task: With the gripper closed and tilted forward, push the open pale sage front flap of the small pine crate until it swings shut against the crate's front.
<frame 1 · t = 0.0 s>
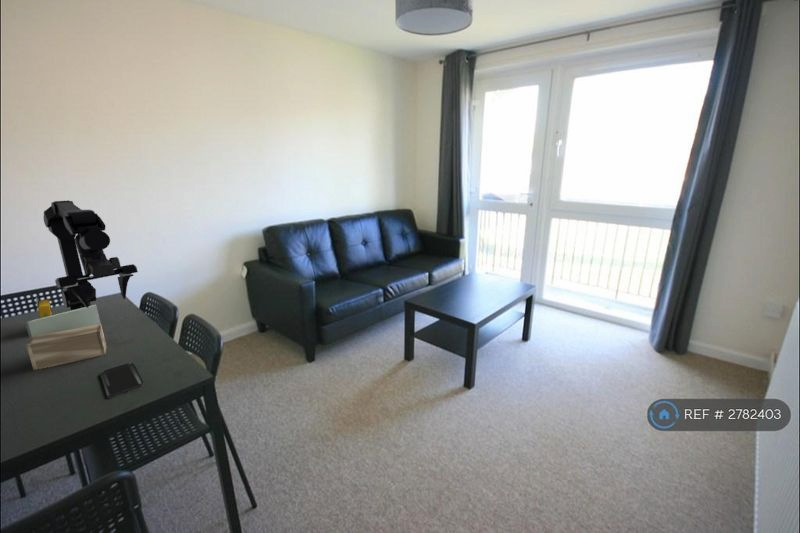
hand: (106, 302, 112), 15 cm above the table, tool pointing down, fingers open, 9 cm apart
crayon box: (50, 329, 127), on the table
flap: (67, 331, 113), point 6 cm above the table, hinge at 20.0°
phone: (121, 382, 100), on the table
crate: (72, 357, 110), on the table
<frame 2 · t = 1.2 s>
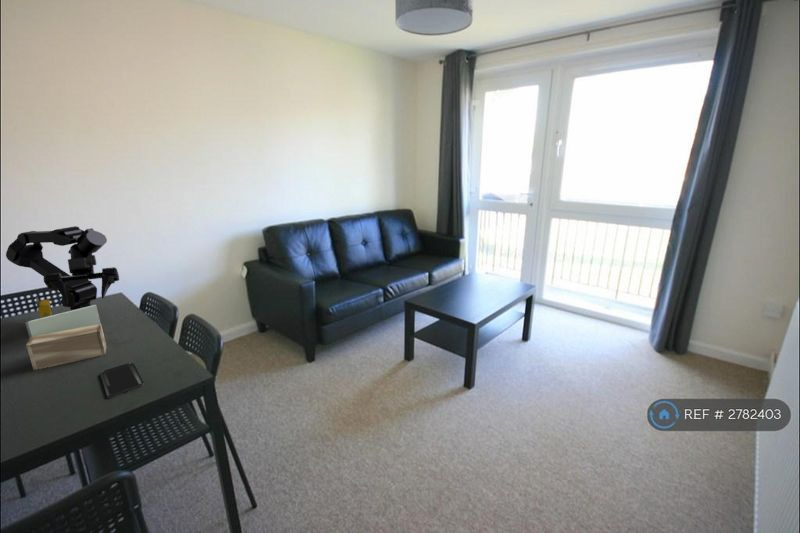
hand: (85, 300, 121), 12 cm above the table, tool tilted 45°, fingers open, 9 cm apart
nothing on the table moved.
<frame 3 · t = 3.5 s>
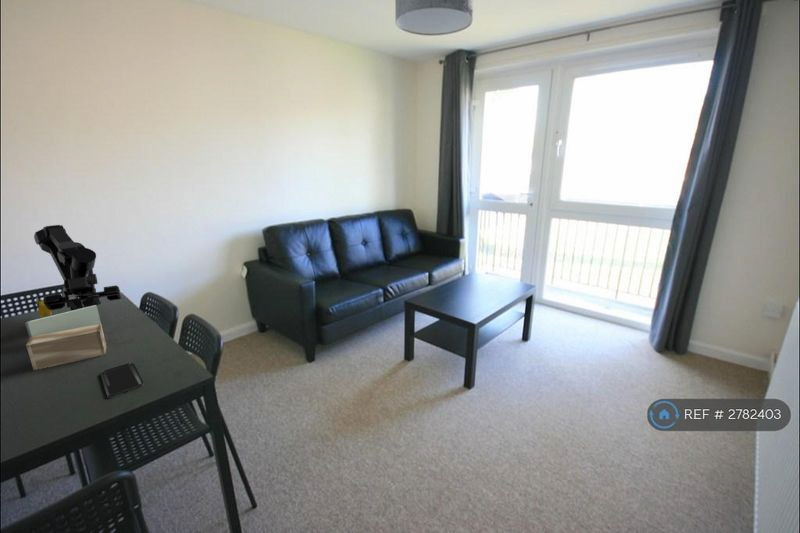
hand: (87, 320, 117), 8 cm above the table, tool tilted 45°, fingers closed
flap: (67, 331, 113), point 6 cm above the table, hinge at 18.8°, touching gripper
everything else where it was.
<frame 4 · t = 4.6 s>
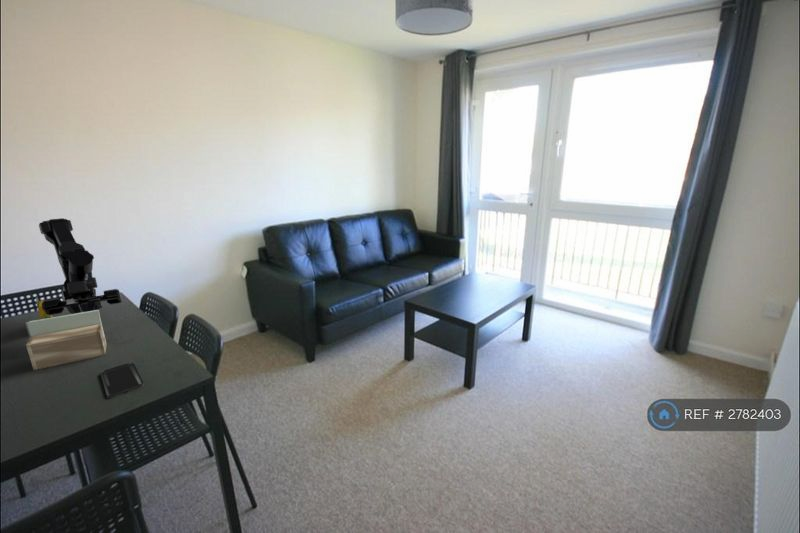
hand: (87, 325, 114), 8 cm above the table, tool tilted 45°, fingers closed, pressing on flap
flap: (68, 334, 111), point 6 cm above the table, hinge at 0.1°, touching gripper
everything else where it was.
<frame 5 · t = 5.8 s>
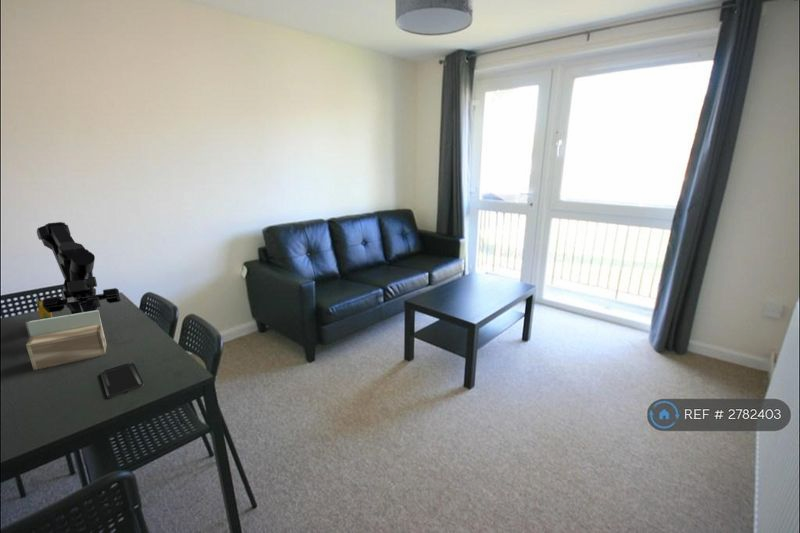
hand: (85, 323, 116), 7 cm above the table, tool tilted 45°, fingers closed
flap: (67, 334, 111), point 6 cm above the table, hinge at -0.9°
everything else where it was.
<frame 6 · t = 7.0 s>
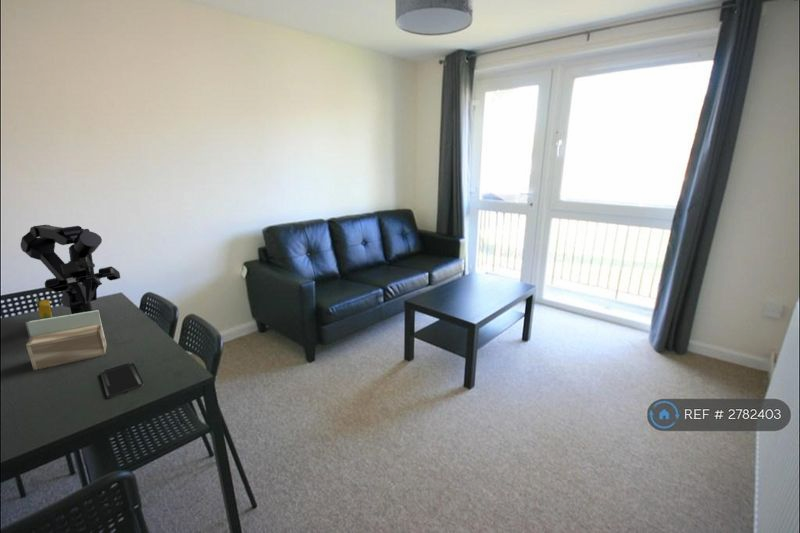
hand: (86, 302, 120), 12 cm above the table, tool tilted 40°, fingers closed
nothing on the table moved.
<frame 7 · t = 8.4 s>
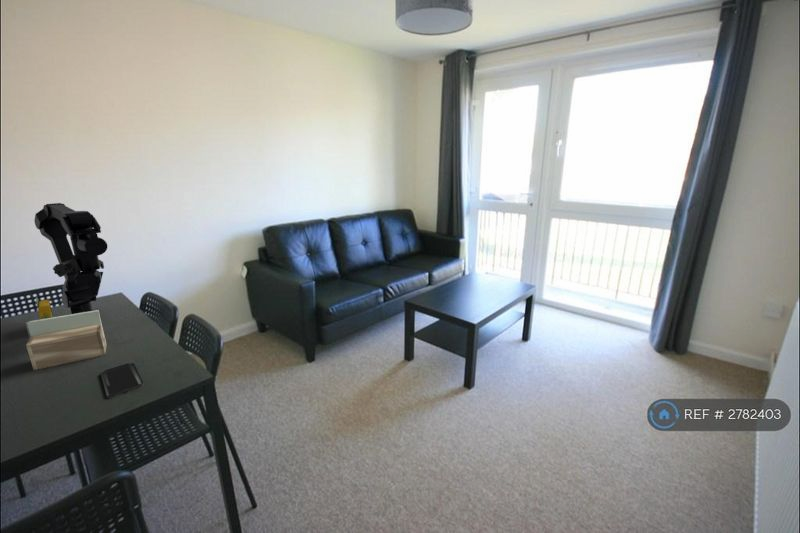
hand: (95, 295, 124), 13 cm above the table, tool pointing down, fingers closed
nothing on the table moved.
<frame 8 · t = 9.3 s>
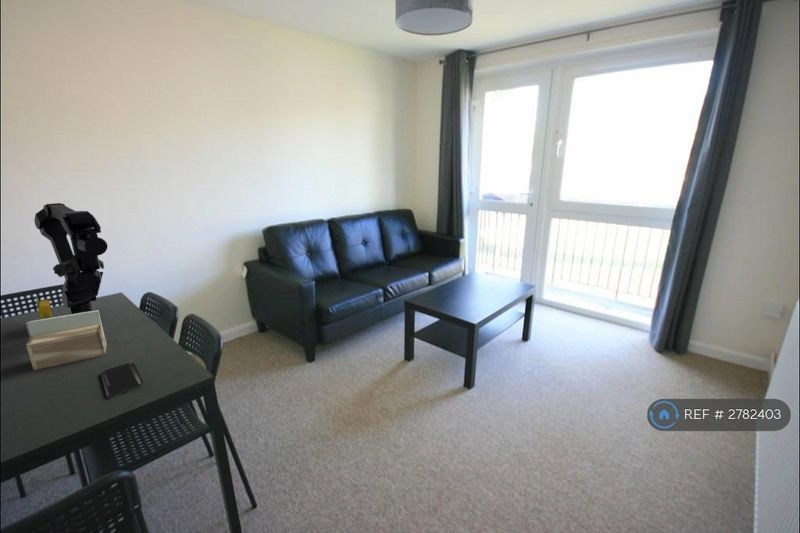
hand: (95, 295, 124), 13 cm above the table, tool pointing down, fingers closed
nothing on the table moved.
at the end: flap at -1° (first picture: +20°) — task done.
